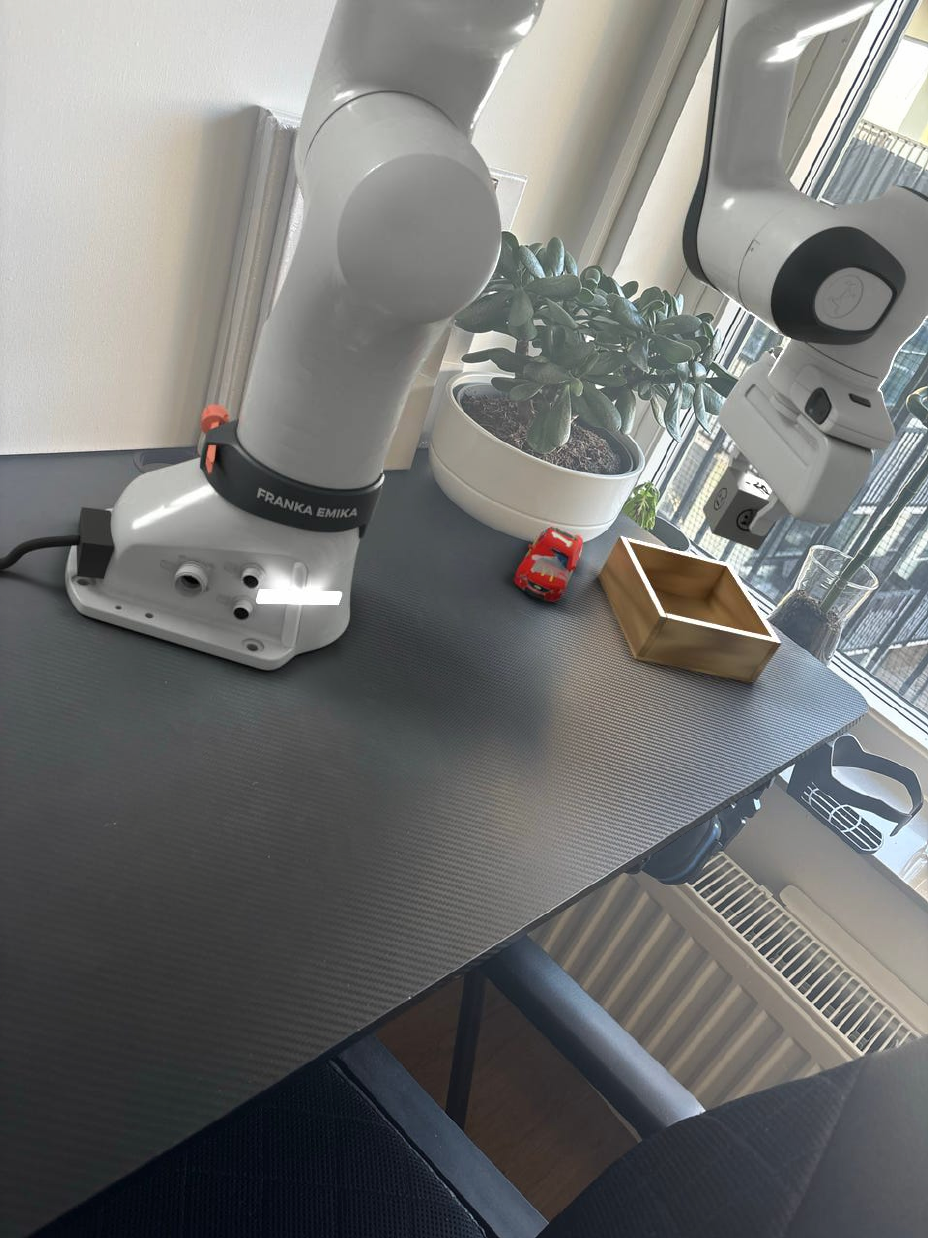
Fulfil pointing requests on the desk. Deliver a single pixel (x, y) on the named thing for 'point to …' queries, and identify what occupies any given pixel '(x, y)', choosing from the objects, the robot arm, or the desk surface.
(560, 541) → the race car
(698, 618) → the crate
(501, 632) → the desk surface
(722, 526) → the dice cube
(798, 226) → the robot arm
